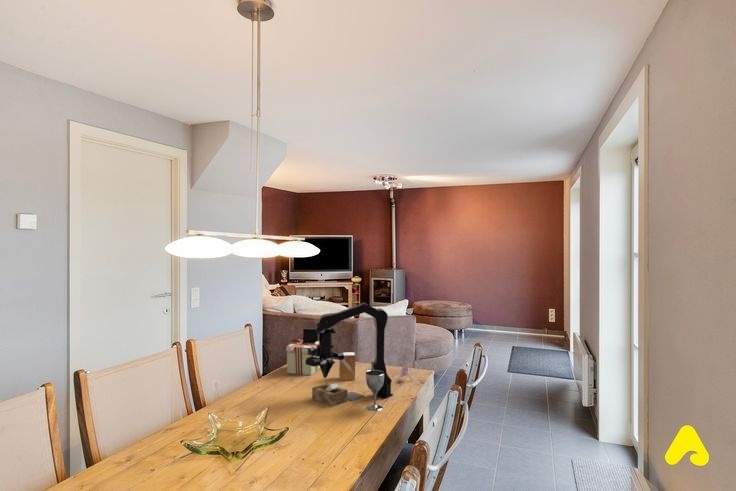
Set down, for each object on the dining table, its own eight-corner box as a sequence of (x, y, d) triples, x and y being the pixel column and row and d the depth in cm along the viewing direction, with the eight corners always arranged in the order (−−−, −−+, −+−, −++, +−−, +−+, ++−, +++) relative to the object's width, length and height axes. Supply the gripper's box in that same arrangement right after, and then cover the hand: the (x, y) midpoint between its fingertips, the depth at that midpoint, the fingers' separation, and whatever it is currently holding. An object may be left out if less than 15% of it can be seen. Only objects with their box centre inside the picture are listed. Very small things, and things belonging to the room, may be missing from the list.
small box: (339, 380, 217) (339, 355, 217) (338, 377, 223) (338, 352, 223) (355, 380, 218) (355, 354, 218) (354, 376, 224) (354, 351, 224)
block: (338, 387, 188) (336, 383, 189) (331, 389, 186) (329, 385, 186) (328, 396, 193) (326, 392, 194) (321, 398, 190) (319, 394, 191)
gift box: (283, 375, 225) (283, 343, 225) (295, 366, 243) (295, 336, 243) (314, 377, 222) (314, 344, 222) (324, 367, 240) (324, 337, 240)
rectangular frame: (347, 401, 188) (347, 389, 188) (332, 406, 182) (332, 395, 182) (327, 393, 197) (327, 383, 197) (312, 399, 191) (312, 387, 191)
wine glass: (387, 407, 181) (388, 372, 181) (375, 413, 175) (375, 376, 175) (374, 402, 186) (374, 368, 186) (361, 407, 180) (361, 372, 180)
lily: (404, 377, 226) (395, 362, 225) (422, 372, 220) (414, 357, 219) (396, 391, 215) (387, 375, 214) (416, 386, 209) (406, 370, 209)
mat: (364, 396, 194) (364, 395, 194) (352, 401, 188) (352, 400, 188) (352, 392, 200) (352, 391, 200) (339, 396, 194) (339, 395, 194)
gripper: (328, 337, 204) (328, 369, 204) (297, 343, 190) (297, 378, 190) (344, 340, 196) (344, 374, 196) (314, 347, 182) (313, 383, 182)
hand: (325, 377), depth 191 cm, fingers closed
